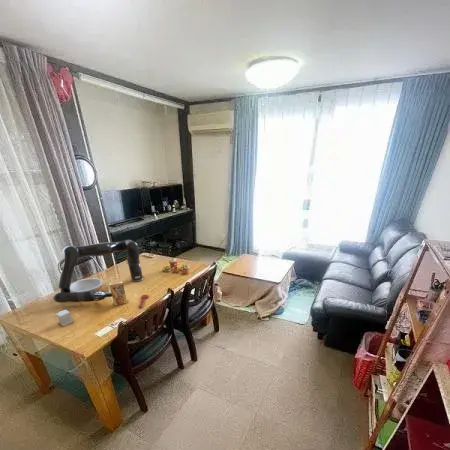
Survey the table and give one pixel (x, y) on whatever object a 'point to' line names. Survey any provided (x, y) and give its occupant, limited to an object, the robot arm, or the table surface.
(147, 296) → the spoon
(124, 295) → the candy box
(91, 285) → the soup bowl
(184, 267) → the toy tea set
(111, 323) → the table surface
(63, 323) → the grey cube
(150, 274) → the table surface
